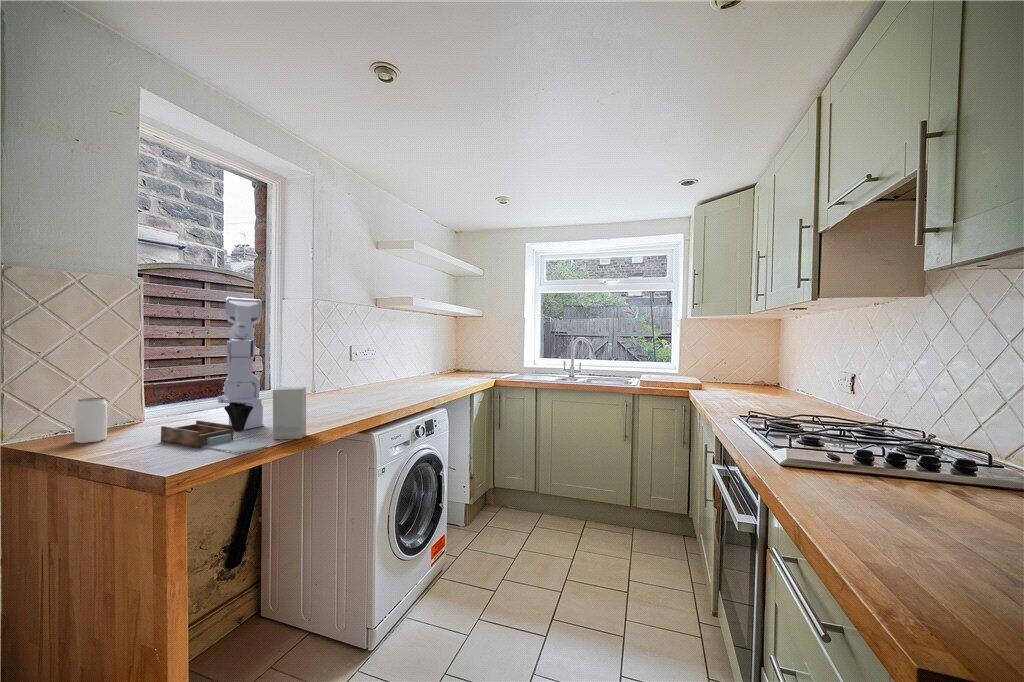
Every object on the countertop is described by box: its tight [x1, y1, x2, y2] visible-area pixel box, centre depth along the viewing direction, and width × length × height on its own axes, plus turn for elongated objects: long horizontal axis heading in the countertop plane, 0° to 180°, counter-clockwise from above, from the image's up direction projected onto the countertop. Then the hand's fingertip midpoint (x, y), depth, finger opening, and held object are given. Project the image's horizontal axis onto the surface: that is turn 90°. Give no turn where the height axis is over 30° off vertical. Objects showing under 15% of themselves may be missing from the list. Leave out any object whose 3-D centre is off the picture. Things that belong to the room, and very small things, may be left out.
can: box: [73, 397, 108, 444], centre depth 117 cm, size 6×6×12 cm
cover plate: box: [201, 434, 268, 455], centre depth 116 cm, size 15×8×3 cm, turn 69°
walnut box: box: [160, 419, 235, 449], centre depth 121 cm, size 16×10×4 cm, turn 70°
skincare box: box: [272, 386, 307, 440], centre depth 128 cm, size 8×7×16 cm
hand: (238, 430), depth 115 cm, fingers closed
